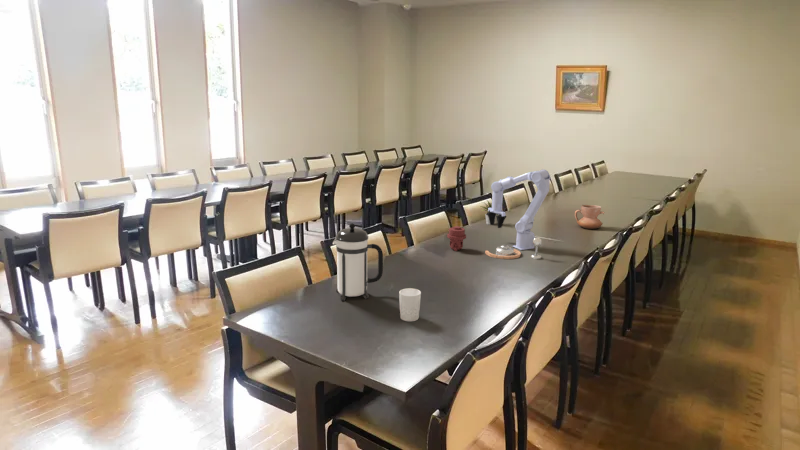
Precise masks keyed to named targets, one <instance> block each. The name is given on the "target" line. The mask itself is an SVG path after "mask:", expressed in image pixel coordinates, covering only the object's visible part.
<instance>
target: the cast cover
mask: <svg viewBox="0 0 800 450" xmlns="http://www.w3.org/2000/svg"><path fill="white" fill-rule="evenodd" d="M514 249H515V248H514V247H512V246H511V247H510V246H509V245H507V244H502V245H500V246H497V247H496V249H495V255H501V256H512V255H514V253H515V252H514Z"/></svg>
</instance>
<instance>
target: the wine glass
mask: <svg viewBox="0 0 800 450" xmlns="http://www.w3.org/2000/svg"><path fill="white" fill-rule="evenodd" d="M542 243H543V241H542V238H540V237H538V236H537V237H536V236H535V238H534V239H533V244H534V247H535V253H533V254H531V255H530V258H531V259H533V260H541V259H542V255H541V254H538V249H539V247H540V246H541V245H543V244H542Z"/></svg>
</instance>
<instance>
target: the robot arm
mask: <svg viewBox="0 0 800 450" xmlns="http://www.w3.org/2000/svg"><path fill="white" fill-rule="evenodd" d="M526 180H527V181H530V182H532V183H533V184H534V185H535V186H536V188H537V191H536V193H535V195H534V197H533V199H531V202H530V204H529V206H528V208H527V209H526V211H525V212H524V215H522V217H520V219H519V221H517V222H516V223H515V226H514V227H515V231H516V241H515V244H514V245H512V248H514V249H516V250H519V251H523V250H532V249H536V246H535V245H534V244H533V239H534V238H536V236H535V233H534V232H533V231H531V229H532V228H533V227H534V222H535V217H536V215H537V213H538V211H539V209H540V208H541V206H542V205H543V202H544V201H545V199H546V198H547V195H548V194H549V191H550V180H551V175H550V173H549V171H548V170H547V169H540V170H534V171H529V172H526V173H523V174H521V175H518V176H515V177H514V176H510V175H508V176H506V178H500V179H499V180H498V181H493V182H492V183H491V185H490V189H491V191H492V196H491V197H492V200H491V203H492V208H488V210H487V211H489V212H486V214H487V215H488V217H489V221H490V226H493V225H495V223H494V222H496V221H497V225H496V226H497V229H502V228H503V224H504V222H505V220H506V218H507V214H506V212H505V211H504V210H503V202H504V201H503V200H504V198H503V197H504V191H505V190H508V189H510V188H513V187H515V186H516V185H517V184H518V183H521V182H525V181H526ZM495 216H496V219H495Z"/></svg>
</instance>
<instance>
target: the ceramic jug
mask: <svg viewBox="0 0 800 450" xmlns="http://www.w3.org/2000/svg"><path fill="white" fill-rule="evenodd" d="M601 210H602V206H600V205H595V204H582V205H580V209H577V210H575V211H574V217H575V220H576V223H577V225H578V226H579V227H581V228H583V229H588V230H593V229H594V230H595V229H599V228H600V227H602V226H603V222H602V221H601V220H600V219H598V216H600V215H601V214H603V215H605V212H604V211H601ZM578 213H581V215H582V217H581V218H580V219H579V218H578Z"/></svg>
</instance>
